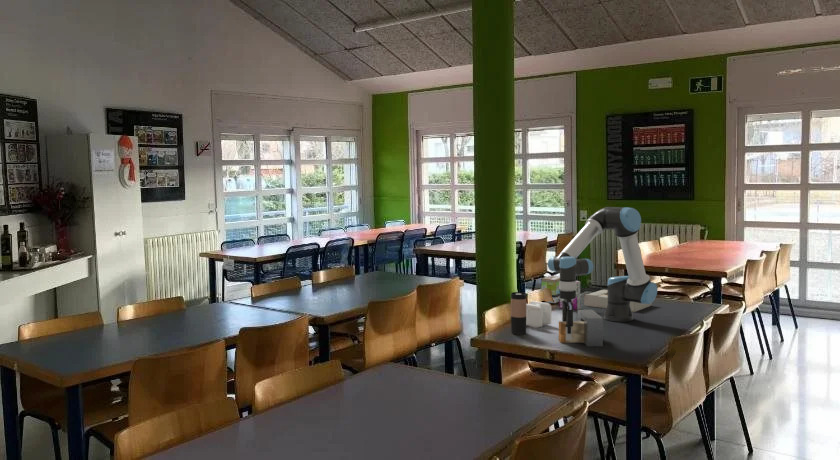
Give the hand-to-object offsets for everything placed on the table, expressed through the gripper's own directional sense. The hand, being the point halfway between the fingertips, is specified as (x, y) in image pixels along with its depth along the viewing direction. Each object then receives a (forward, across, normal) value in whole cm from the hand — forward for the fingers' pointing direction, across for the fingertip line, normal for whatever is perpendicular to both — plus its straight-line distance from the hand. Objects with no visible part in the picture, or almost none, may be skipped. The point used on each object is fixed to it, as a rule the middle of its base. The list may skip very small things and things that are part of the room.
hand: (567, 338), depth 326 cm
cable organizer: (+2, +35, +9) cm, 36 cm away
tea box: (+2, +103, -13) cm, 104 cm away
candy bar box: (+2, +78, -18) cm, 80 cm away
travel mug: (+2, +18, +20) cm, 27 cm away
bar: (+1, 0, -5) cm, 6 cm away
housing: (+1, 0, -10) cm, 11 cm away
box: (+2, +85, -48) cm, 98 cm away
